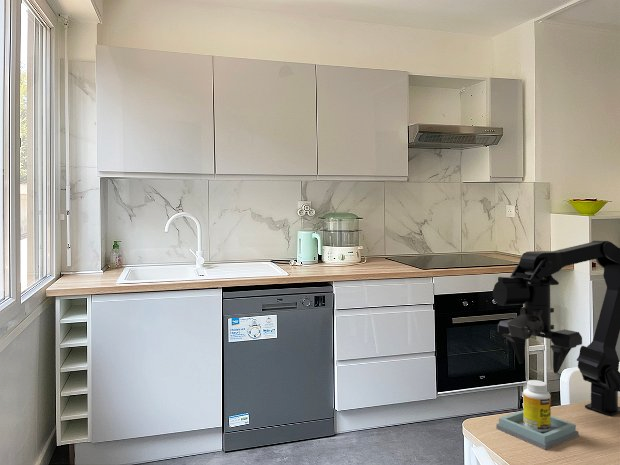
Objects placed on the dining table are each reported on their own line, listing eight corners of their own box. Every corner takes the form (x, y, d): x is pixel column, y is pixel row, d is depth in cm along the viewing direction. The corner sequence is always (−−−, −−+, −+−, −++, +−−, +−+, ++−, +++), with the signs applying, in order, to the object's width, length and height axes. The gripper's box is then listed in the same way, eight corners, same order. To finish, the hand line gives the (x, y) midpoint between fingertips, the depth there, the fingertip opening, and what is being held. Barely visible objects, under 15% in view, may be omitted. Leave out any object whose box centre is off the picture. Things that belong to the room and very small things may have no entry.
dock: (529, 417, 114) (529, 407, 114) (578, 436, 103) (578, 424, 103) (496, 428, 108) (496, 417, 108) (545, 449, 97) (545, 437, 97)
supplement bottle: (541, 435, 102) (541, 388, 101) (518, 426, 106) (518, 381, 106) (555, 429, 105) (555, 383, 105) (532, 420, 109) (532, 377, 109)
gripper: (483, 301, 117) (483, 363, 118) (553, 313, 101) (554, 384, 102) (511, 297, 123) (512, 356, 123) (583, 308, 107) (583, 376, 107)
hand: (537, 367), depth 114 cm, fingers open, 9 cm apart
